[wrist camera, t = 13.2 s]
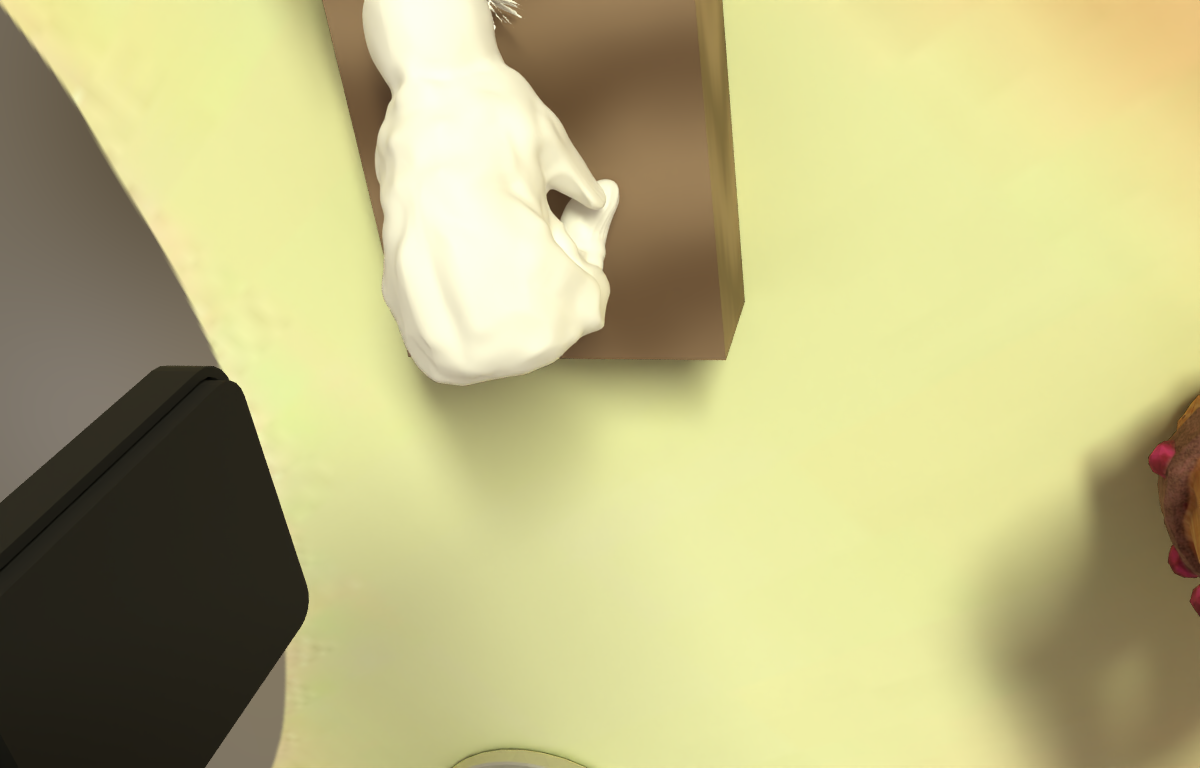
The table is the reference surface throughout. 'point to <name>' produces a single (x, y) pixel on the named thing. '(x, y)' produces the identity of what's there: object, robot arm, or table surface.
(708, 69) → the display ledge
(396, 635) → the table surface
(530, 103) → the white animal figurine
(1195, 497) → the mug
